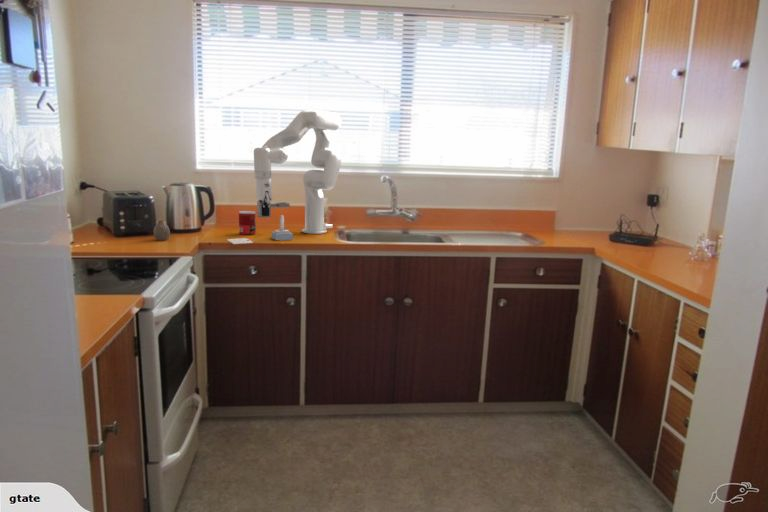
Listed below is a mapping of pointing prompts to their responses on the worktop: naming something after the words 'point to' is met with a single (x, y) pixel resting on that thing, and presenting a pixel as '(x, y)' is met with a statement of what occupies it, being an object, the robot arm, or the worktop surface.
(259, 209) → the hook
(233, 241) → the mat
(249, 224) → the canned food
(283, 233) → the grey joystick
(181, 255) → the worktop surface
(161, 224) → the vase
